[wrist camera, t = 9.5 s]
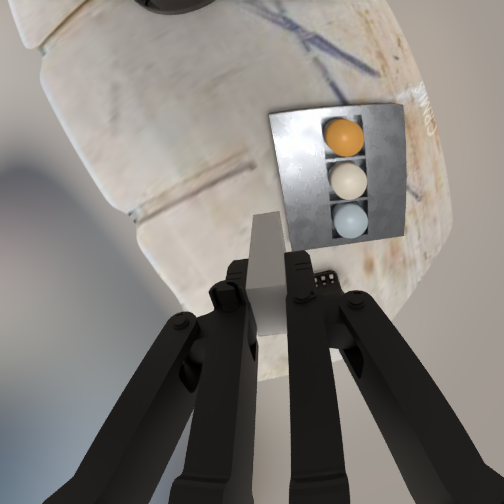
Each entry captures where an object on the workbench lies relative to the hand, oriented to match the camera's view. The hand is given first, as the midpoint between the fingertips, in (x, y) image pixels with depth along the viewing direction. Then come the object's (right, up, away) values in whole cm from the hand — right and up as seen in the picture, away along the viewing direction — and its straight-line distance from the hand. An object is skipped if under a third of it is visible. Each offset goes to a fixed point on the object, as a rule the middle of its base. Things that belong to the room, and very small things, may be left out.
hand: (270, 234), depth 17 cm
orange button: (+11, +14, +17) cm, 24 cm away
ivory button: (+12, +9, +20) cm, 25 cm away
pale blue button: (+13, +4, +23) cm, 27 cm away
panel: (+12, +10, +22) cm, 27 cm away
